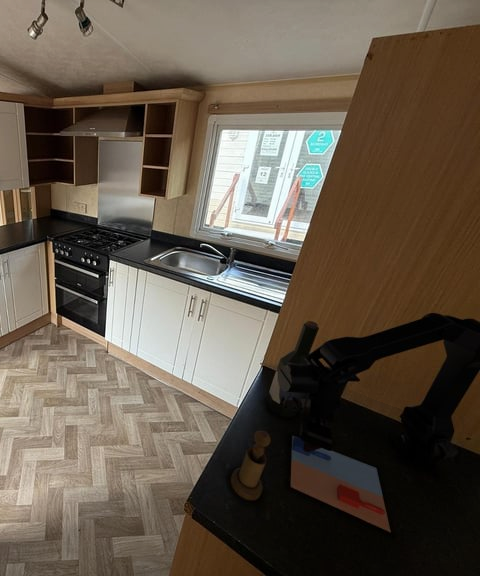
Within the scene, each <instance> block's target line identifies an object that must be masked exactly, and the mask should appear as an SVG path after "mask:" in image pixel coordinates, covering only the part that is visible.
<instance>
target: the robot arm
mask: <svg viewBox="0 0 480 576" xmlns="http://www.w3.org/2000/svg"><path fill="white" fill-rule="evenodd" d="M440 341H442V342H443V346H444V350H445V354H446V357H445V358H444V361H443V363H442V364H441V366H440V368H439V370H438V372H437V373H436V376H435V377H434V379H433V380H432V383H431V384H430V387H429V388H428V390H427V392H426V393H425V396H424V398H423V400H422V401H421V403H420V404H416V405H413V406H405V407H404V408H403V411H402V413H401V414H400V415H399V416H398V418H400V422H401V427H402V428H403V429H404V430H406V433H405V434H404V435H403V434H402V435H401V436H400V437H399V439H398V440H397V441H395V445H394V446H395V450H396V453H397V455H399V458H400V460H401V461H402V462H404V463H406V464H410V465H412V466H414V467H418V468H420V469H423V470H426V471H429V472H431V473H434V474H436V473H437V470H436V468H435V467H436V464H437V463H438V462H439V461H440V460H442V461H445V460H446V459H448V458H453V457H454V456H456V455H457V454H459V451H458V449H457V448H456V447H455V446H454V444H453V443H452V439H453V437H454V435H455V431H456V430H455V427H454V423H453V419H452V417H453V414H454V413H455V411H456V410H457V408H458V407H459V405H460V403H461V402H462V400H463V399H464V398H465V395H466V393H467V392H468V390H469V389H470V387H471V386H472V384H473V382H474V381H475V379H476V377H477V376H478V374H479V372H480V321H479V320H477V319H475V318H470V317H469V318H468V317H467V318H463V319H462V318H459V317H456V316H453V315H450V314H445V315H444V314H441V313H438V312H429V313H427V314H425V315H423V316H422V317H421V318H419V319H416V320H413V321H410V322H406V323H403V324H400V325H397V326H394V327H391V328H388V329H385V330H382V331H379V332H376V333H373V334H372V333H371V334H369V335H365V336H361V337H357V336H342V337H337V338H332V339H329V340H327V341H325V342H323V344H321V345H320V346H319V347H317V348H316V349H314V350H313V351H311V352H310V353H309V355H307V356H306V357H305V358H304V359H305V360H306V361H307V362H308V363H307V365H304V364H294V363H288V364H287V366H282V367H281V368H280V369H279V370H278V374H277V379H278V384H279V386H280V388H279V399H280V405H281V407H283V408H284V409H285V410H288V411H298V412H299V410H301V413H302V414H303V418H302V421H301V423H300V426H299V438H300V439H302V441H304V446H303V451H305V452H311V451H314V450H317V449H320V448H323V449H325V450H328V451H333V450H334V449H335V447H336V438H335V435H336V434H335V432H334V431H333V429H331V428H330V427H327V423H326V422H327V421H328V422H331V423H333V422H334V420H335V415H334V413H335V411H336V410H339V409H340V408H341V401H340V400H341V399H342V396H343V394H344V392H345V390H346V387H347V385H348V383H349V382H354V383H355V382H357V383H358V382H360V381H361V379H360V378H359V377H358V376H357V375H358V374H360V373H363V372H366V371H368V370H369V369H370V368H371V367H372V366H373V365H374V363H376V362H377V361H379V360H382V359H384V358H387V357H391V356H394V355H398V354H400V353H404V352H407V351H410V350H414V349H417V348H421V347H425V346H427V345H430V344H434V343H438V342H440ZM321 359H322V360H323V361H324V362H325V363H326V364H327V365H326V366H325V365H324V364H323V362H322V361H320V360H321ZM298 409H299V410H298Z"/></svg>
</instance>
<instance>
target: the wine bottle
mask: <svg viewBox="0 0 480 576" xmlns="http://www.w3.org/2000/svg"><path fill="white" fill-rule="evenodd" d="M319 329H320V327H319V324H318V323H317V322H315V321H312V320H307V321H306V322H305V323H304V324H303V325H302V328H301V331H300V333H299V336H298V339H297V341H296V343H295V344H296V345H295V347H294V349H293V350H291V351H290V352H288V353H287V354H285V355H284V356H282V357H281V358H279V362H278V364H277V367H276V371H275V373H274V376H273V379H272V382H271V385H270V388H269V392H268V395H267V397H266V400H265V403H266V404H267V406H268V409H269V410H271V411H272V412H274V413H275V414H277V415H279V416H281V417H288V418H293V417H294V416H295V415H296V414H297V413H298V412H299V410H300V409H298V411H288V410H285V409H284V408H283V407H281V405H280V399H279V388H280V386H279V384H278V379H277V374H278V370H279V369H280V368H281V367H282V366H287V364H288V363H294V364H304V365H307V363H308V362H307V361H306V360H305V359H304V358H305V357H306V356H307V355H309V354H310V353H311V350H312V348H313V345H314V343H315V341H316V340H315V339H316V337H317V335H318V333H319Z"/></svg>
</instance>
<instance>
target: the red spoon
mask: <svg viewBox="0 0 480 576" xmlns="http://www.w3.org/2000/svg"><path fill="white" fill-rule="evenodd" d="M337 495H338V500H339V501H341V502H344V503H346V504H348V505H350V506H353V507H355V508H357V509H358V508H359V506H360V505H361V506H363V507H365V508H367V509H370V510H372V511H374V512H377V513H379V514H381V515H384V514H385V511H384V510H383V509H382V508H380V507H377V506H375V505H373V504H370V503H368V502H366V501H363V500H361V499H360V496H359V492H358V491H355V490H353V489H350V488H348V487H346V486H343V485H341V484H339V486H338V487H337Z"/></svg>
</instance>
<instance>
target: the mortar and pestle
mask: <svg viewBox="0 0 480 576" xmlns="http://www.w3.org/2000/svg"><path fill="white" fill-rule="evenodd" d="M253 436H254V437H253V438H254V441H255V443H254V444H253V445H252V447H249V448H248V449H247V450H246V452H245V456H244V458H243V462H242V465H241V467H237V468H235V469H234V470H233V471H232V474H231V476H230V485H231V487H232V489H233V491H234V492H235V493H236V494H237V495H238V496H240V497H241V498H242V499H244V500H248V501H256V500H258V499H260V497H261V495H262V492H263V488H264V486H263V482H262V479H261V476H262V474H263V471H264V468H265V466H266V464H267V461H268V459H267V456H266V454H265V452H266V449H265V447H268V446H269V445H270V443H271V441H272V440H271V436H270V434H269V433H268V432H267V431H265V430H261V429H259V430H257V431H256V432H255V433H254V435H253Z"/></svg>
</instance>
